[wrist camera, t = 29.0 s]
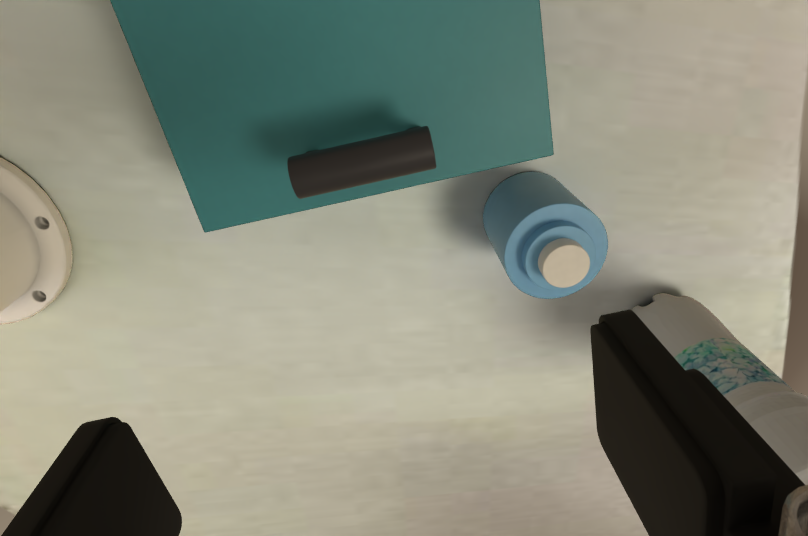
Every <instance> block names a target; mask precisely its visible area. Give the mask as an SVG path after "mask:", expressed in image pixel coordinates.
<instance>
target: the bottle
mask: <svg viewBox="0 0 808 536" xmlns="http://www.w3.org/2000/svg"><path fill="white" fill-rule="evenodd" d="M632 311H633V312H634V313H635V314H636V315H637V316H638V317H639V318H640V319H641V320H642V322H643V323H644V324H645V325H646V326H647V327H648V328H649V330H650V331H651V332H652V333H653V334H654V335H655V336H656V338H657V339H658V340H659V341H660V342H661V343H662V344H663V346H664V347H665V348H666V349H667V350H668V351H669V352H670V354H671V355H672V356H673V357H674V358H675V359H676V360H677V362H678V363H679V364H680V365H681V366H682V367H683V368H684V370H689V369H696V370H699V371H700V372H701V373H702V374H704V375H705V376H706V377H707V378H708V379H709V380H710V382H711V383H712V384H713V385H714V386H715V387H716V388H717V389H718V390H719V391H720V392H721V394H722V395H723V396H724V397H725V398H726V399H727V400H728V401H729V402H730V403H731V404H732V406H733V407H734V408H735V409H736V410H737V411H738V412H739V413H740V414H741V415H742V416H743V417H744V419H745V420H746V421H747V422H748V423H749V424H750V425H751V426H752V427H753V428H754V429H755V431H756V432H757V433H758V434H759V435H760V436H761V437H762V438H763V439H764V440H765V441H766V443H767V444H768V445H769V446H770V447H771V448H772V449H773V450H774V451H775V452H776V453H777V455H778V456H779V457H780V458H781V459H782V460H783V461H784V462H785V463H786V464H787V465H788V467H789V468H790V469H791V470H792V471H793V472H794V473H795V474H796V475H797V476H798V477H799V479H800V480H801V481H802V482H803V483H804V484H805V485H808V396H807V395H805V394H802V393H798V392H795V391H794V390H793V389H792V388H790V387H789V386H788V385H787V384H786V383H785V382H784V381H783V380H782V379H781V378H779V377H778V376H777V375H776V374H775V373H774V372H773V371H772V370H770V369H769V368H768V367H767V366H766V365H765V364H764V363H763V362H762V361H760V360H759V359H758V358H757V357H756V356H755V355H754V354H753V353H752V352H750V351H749V350H748V349H747V348H746V347H745V346H744V345H742V344H741V343H740V342H739V341H738V340H737V339H736V338H735V337H734V336H733V335H732V334H731V333H730V331H729V330H728V329H727V328H726V327H725V326H724V325H723V324H722V323H721V322H720V321H719V319H718V318H717V317H715V316H714V315H713V314H712V313H711V312H710V311H709V310H708V309H707V308H706V307H704V306H703V305H702V304H701V303H699V302H698V301H696V300H694V299H693V298H691V297H687V296H679V297H677V296H672V295H670V294H666V293H660V294H656V295H654V296H653V302H652V303H651V304H649V305H647V306H644V307H641V306H639V305H636V306H635V307H634V308H633V309H632Z"/></svg>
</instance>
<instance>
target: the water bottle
mask: <svg viewBox="0 0 808 536" xmlns="http://www.w3.org/2000/svg"><path fill="white" fill-rule="evenodd" d="M483 224H484V228H485V231H486V234H487V236H488V238H489V240H490V242H491V244H492V246H493V248H494V249H495V251H496V253H497V255H498V257H499V259H500V261H501V263H502V265H503V267H504V269H505V271H506V273H507V275H508V277H509V278H510V280H511V281H512V283H513V284H514V285H515V286H516V287H517V288H518V289H519V290H521V291H522V292H524V293H526V294H528V295H530V296H533V297H537V298H544V299H554V298H560V297H564V296H568V295H570V294H573V293H575V292H577V291H579V290H580V289H582V288H583V287H585V286H586V285H587V284H588V283H590V282H591V281H592V280H593V279H594V278H595V276H596V275H597V274H598V272H599V271H600V269H601V268H602V266H603V263H604V261H605V258H606V255H607V249H608V239H607V233H606V230H605V228H604V225H603V224H602V222H601V221H600V219H599V218H598V217H597V216H596V215H595V214H594V213H593V212H592V211H591V210H590V209H589V208H587V207H586V206H585V205H584V204H583V203H582V202H581V201H580V200H579V199H577V198H576V197H575V196H574V195H573V194H572V193H571V192H570V191H569V190H567V189H566V188H565V187H564V186H563V185H562V184H561V183H560V182H559V181H557V180H556V179H555V178H553V177H551V176H549V175H547V174H544V173H540V172H524V173H520V174H516V175H514V176H511V177H509V178H508V179H506V180H504V181H503V182H502V183H500V184H499V185H498V186H497V187H496V188H495V189H494V191H493V192H492V193H491V195H490V196H489V198H488V200H487V202H486V205H485V208H484V213H483Z"/></svg>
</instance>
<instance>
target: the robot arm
mask: <svg viewBox="0 0 808 536" xmlns="http://www.w3.org/2000/svg"><path fill="white" fill-rule="evenodd" d="M72 262H73V259H72V244H71V240H70V237H69V233H68V229H67V227H66V225H65V223H64V220H63V218H62V216H61V214H60V212H59V210H58V209H57V208H56V206H55V205H54V203H53V202H52V201H51V199H50V198H49V196H48V195H47V194H46V193H45V192H44V191H43V190H42V189H41V188H40V187H39V185H38V184H37V183H36V182H35V181H34V180H33V179H32V178H30V177H29V176H28V175H26V174H25V173H24V172H23V171H21V170H20V169H19V168H17V167H16V166H15V165H13V164H12V163H10V162H8V161H6V160H5V159H3V158H1V157H0V325H1V324H8V323H15V322H18V321H21V320H24V319H27V318H30V317H32V316H34V315H35V314H37V313H39V312H41V311H42V310H44V309H45V308H46V307H47V306H48V305H49V304H50V303H52V302H53V301H54V300H55V299H56V298H57V297H58V295H59V294H60V293H61V292H62V290H63V289H64V287H65V285H66V283H67V281H68V279H69V277H70V273H71V267H72ZM591 345H592V360H593V375H594V391H595V406H596V421H597V432H598V436H599V439H600V442H601V445H602V447H603V449H604V451H605V453H606V455H607V457H608V459H609V461H610V462H611V464H612V466H613V468H614V470H615V472H616V474H617V476H618V478H619V480H620V481H621V483H622V485H623V487H624V489H625V491H626V493H627V495H628V497H629V498H630V500H631V502H632V504H633V506H634V508H635V510H636V512H637V514H638V515H639V517H640V519H641V521H642V523H643V525H644V527H645V529H646V531H647V532H648V534H649V536H808V485H805V484H804V483H803V482H802V481H801V480H800V479H799V477H798V476H797V475H796V474H795V473H794V472H793V471H792V470H791V469H790V468H789V467H788V465H787V464H786V463H785V462H784V461H783V460H782V459H781V458H780V457H779V456H778V455H777V453H776V452H775V451H774V450H773V449H772V448H771V447H770V446H769V445H768V444H767V443H766V441H765V440H764V439H763V438H762V437H761V436H760V435H759V434H758V433H757V432H756V431H755V429H754V428H753V427H752V426H751V425H750V424H749V423H748V422H747V421H746V420H745V419H744V417H743V416H742V415H741V414H740V413H739V412H738V411H737V410H736V409H735V408H734V407H733V406H732V404H731V403H730V402H729V401H728V400H727V399H726V398H725V397H724V396H723V395H722V394H721V392H720V391H719V390H718V389H717V388H716V387H715V386H714V385H713V384H712V383H711V382H710V380H709V379H708V378H707V377H706V376H705V375H704V374H702V373H701V372H700V371H699V370H696V369H689V370H684V368H683V367H682V366H681V365H680V364H679V363H678V362H677V360H676V359H675V358H674V357H673V356H672V355H671V354H670V352H669V351H668V350H667V349H666V348H665V347H664V346H663V344H662V343H661V342H660V341H659V340H658V339H657V338H656V336H655V335H654V334H653V333H652V332H651V331H650V330H649V328H648V327H647V326H646V325H645V324H644V323H643V322H642V320H641V319H640V318H639V317H638V316H637V315H636V314H635V313H634V312H633V311H632V310H625V311H621V312H616V313H611V314H606V315H601V316H600V318H599V324H595V325H592V326H591ZM181 525H182V517H181V513H180V511H179V509H178V507H177V505H176V504H175V502H174V500H173V499H172V497H171V495H170V493H169V492H168V490H167V488H166V487H165V485H164V483H163V481H162V480H161V478H160V476H159V475H158V473H157V471H156V470H155V468H154V466H153V464H152V463H151V461H150V459H149V458H148V456H147V454H146V453H145V451H144V449H143V447H142V446H141V444H140V442H139V441H138V439H137V437H136V435H135V434H134V432H133V430H132V429H131V427H130V426H129V425H128V424H127V423H125V422H121V421H120V420H119V419H118V418H116V417H110V418H105V419H100V420H95V421H91V422H86V423H84V424H82V425H81V426H80V427H79V428H78V429H77V431H76V432H75V433H74V435H73V436H72V438H71V439H70V440H69V442H68V443H67V445H66V446H65V447H64V449H63V450H62V452H61V453H60V454H59V456H58V457H57V459H56V460H55V461H54V463H53V464H52V466H51V467H50V468H49V470H48V471H47V472H46V474H45V475H44V477H43V478H42V479H41V481H40V482H39V484H38V485H37V486H36V488H35V489H34V491H33V492H32V493H31V495H30V496H29V498H28V499H27V500H26V502H25V503H24V505H23V506H22V507H21V509H20V510H19V512H18V513H17V514H16V516H15V517H14V519H13V520H12V522H11V523H10V524H9V526H8V527H7V529H6V530H5V531H4V533H3V534H2V535H1V536H179V533H180V530H181Z"/></svg>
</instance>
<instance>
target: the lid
mask: <svg viewBox="0 0 808 536" xmlns="http://www.w3.org/2000/svg"><path fill="white" fill-rule="evenodd" d="M110 1H111V3H112V6H113V8H114V11H115V13H116V16H117V18H118V21H119V23H120V26H121V28H122V30H123V33H124V35H125V38H126V40H127V43H128V45H129V48H130V50H131V53H132V55H133V58H134V60H135V62H136V65H137V67H138V70H139V72H140V75H141V77H142V80H143V82H144V85H145V87H146V90H147V92H148V95H149V97H150V99H151V102H152V104H153V107H154V109H155V112H156V114H157V117H158V119H159V122H160V124H161V127H162V129H163V131H164V134H165V136H166V139H167V141H168V144H169V146H170V149H171V151H172V154H173V156H174V159H175V161H176V163H177V166H178V168H179V171H180V173H181V176H182V178H183V181H184V183H185V186H186V188H187V191H188V193H189V195H190V198H191V200H192V203H193V205H194V208H195V210H196V213H197V215H198V218H199V220H200V223H201V225H202V227H203V230H204V232H210V231H214V230H219V229H223V228H228V227H232V226H237V225H241V224H246V223H250V222H255V221H259V220H264V219H268V218H273V217H277V216H282V215H286V214H291V213H295V212H300V211H304V210H309V209H313V208H318V207H322V206H327V205H331V204H336V203H340V202H345V201H349V200H354V199H358V198H362V197H367V196H371V195H376V194H380V193H385V192H389V191H394V190H398V189H403V188H407V187H412V186H416V185H421V184H425V183H430V182H434V181H439V180H443V179H448V178H452V177H457V176H461V175H466V174H470V173H475V172H479V171H484V170H488V169H493V168H497V167H502V166H506V165H511V164H515V163H520V162H524V161H529V160H533V159H538V158H542V157H547V156H551V155H553V154H554V153H553V142H552V131H551V120H550V110H549V99H548V88H547V77H546V66H545V55H544V45H543V34H542V23H541V12H540V1H539V0H110Z"/></svg>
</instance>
